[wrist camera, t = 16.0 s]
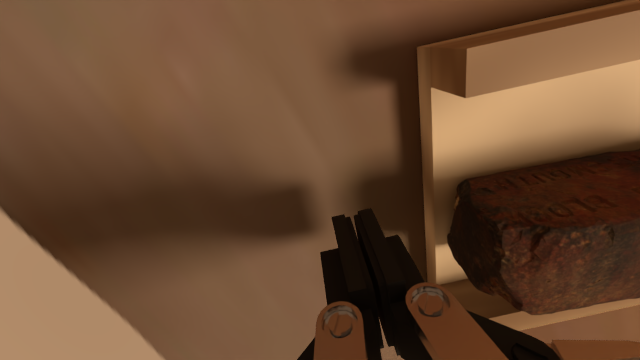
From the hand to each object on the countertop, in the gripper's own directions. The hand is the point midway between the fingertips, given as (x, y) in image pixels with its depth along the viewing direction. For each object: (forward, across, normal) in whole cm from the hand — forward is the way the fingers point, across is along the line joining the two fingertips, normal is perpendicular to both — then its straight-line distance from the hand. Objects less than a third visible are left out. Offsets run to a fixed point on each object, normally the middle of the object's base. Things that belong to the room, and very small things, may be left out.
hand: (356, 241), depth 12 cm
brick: (+2, -10, +1) cm, 10 cm away
